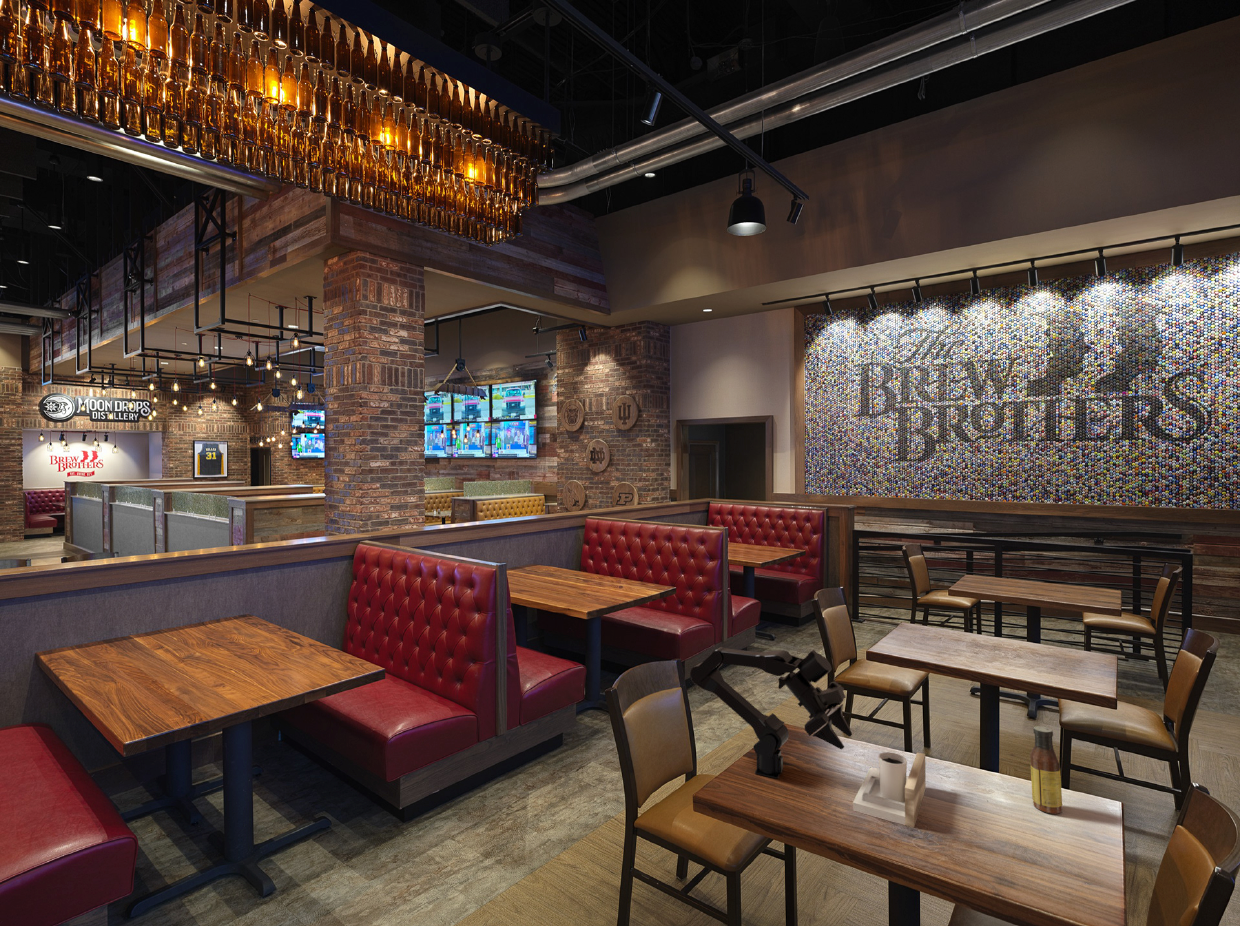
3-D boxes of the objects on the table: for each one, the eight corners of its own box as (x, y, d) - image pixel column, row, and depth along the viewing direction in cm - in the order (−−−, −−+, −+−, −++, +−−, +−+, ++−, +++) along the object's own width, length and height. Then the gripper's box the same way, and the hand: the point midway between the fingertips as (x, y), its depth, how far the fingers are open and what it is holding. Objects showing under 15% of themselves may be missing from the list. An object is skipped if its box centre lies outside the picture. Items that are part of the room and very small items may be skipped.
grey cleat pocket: (853, 810, 156) (852, 796, 156) (870, 774, 175) (870, 761, 175) (905, 825, 150) (904, 810, 150) (917, 785, 168) (917, 772, 168)
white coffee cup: (873, 796, 159) (873, 757, 159) (886, 788, 163) (886, 749, 163) (899, 807, 154) (899, 766, 154) (912, 798, 158) (911, 758, 158)
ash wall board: (905, 825, 150) (904, 787, 150) (917, 785, 168) (917, 752, 168) (914, 827, 149) (913, 789, 149) (925, 787, 167) (925, 754, 167)
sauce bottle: (1067, 810, 156) (1066, 731, 156) (1054, 818, 152) (1053, 736, 153) (1038, 799, 161) (1037, 722, 161) (1025, 805, 158) (1024, 727, 158)
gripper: (816, 684, 160) (862, 737, 154) (834, 665, 176) (876, 712, 170) (786, 709, 164) (829, 761, 158) (806, 688, 180) (846, 735, 174)
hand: (847, 741), depth 165 cm, fingers open, 9 cm apart
